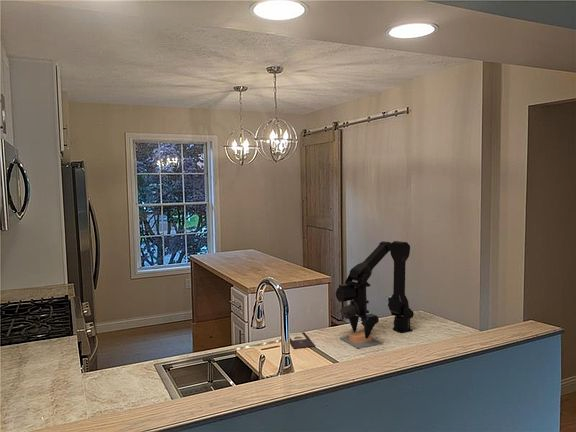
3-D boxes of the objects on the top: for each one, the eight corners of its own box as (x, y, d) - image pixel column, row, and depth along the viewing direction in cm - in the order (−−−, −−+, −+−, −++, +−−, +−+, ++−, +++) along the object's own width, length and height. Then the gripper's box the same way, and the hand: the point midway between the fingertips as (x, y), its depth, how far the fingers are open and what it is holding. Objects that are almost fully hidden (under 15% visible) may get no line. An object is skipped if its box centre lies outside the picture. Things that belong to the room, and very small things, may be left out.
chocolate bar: (293, 347, 180) (284, 334, 198) (293, 350, 180) (284, 336, 198) (315, 345, 182) (304, 332, 200) (315, 347, 182) (304, 334, 200)
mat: (363, 334, 196) (363, 333, 196) (382, 343, 183) (382, 342, 183) (339, 338, 191) (339, 337, 191) (357, 348, 178) (357, 347, 178)
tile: (349, 340, 188) (349, 334, 188) (365, 336, 191) (365, 331, 191) (355, 343, 183) (355, 337, 183) (372, 340, 186) (371, 334, 186)
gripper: (331, 295, 191) (332, 331, 192) (355, 305, 174) (356, 345, 175) (353, 292, 196) (354, 327, 197) (379, 301, 179) (379, 340, 180)
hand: (360, 335), depth 187 cm, fingers open, 9 cm apart
